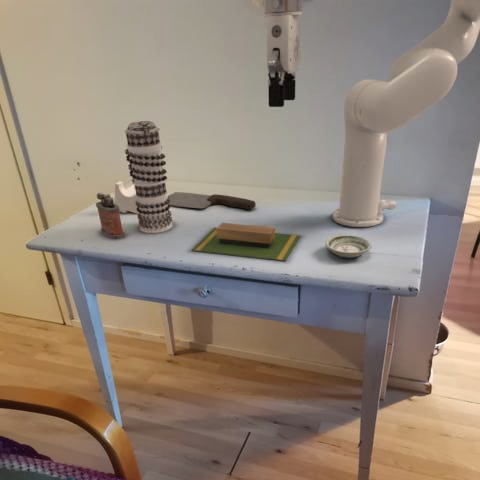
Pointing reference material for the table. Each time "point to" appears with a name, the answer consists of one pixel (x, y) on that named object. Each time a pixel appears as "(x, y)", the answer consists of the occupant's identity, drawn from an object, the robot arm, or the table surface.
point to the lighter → (109, 217)
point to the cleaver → (208, 200)
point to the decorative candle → (148, 176)
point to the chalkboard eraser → (246, 235)
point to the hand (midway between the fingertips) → (282, 103)
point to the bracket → (125, 198)
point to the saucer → (348, 245)
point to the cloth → (249, 247)
